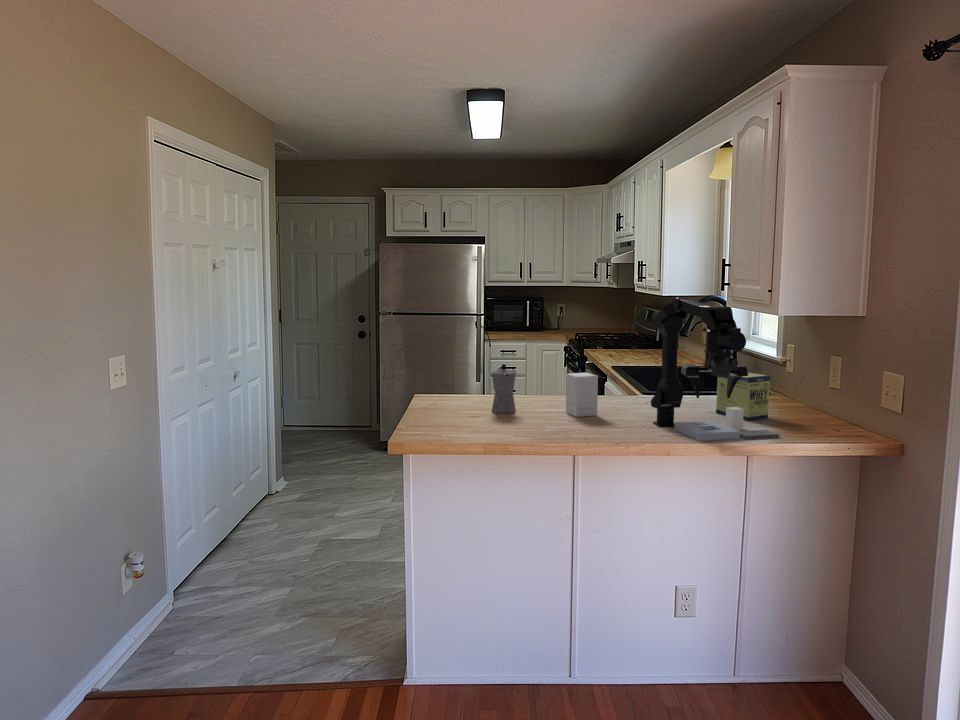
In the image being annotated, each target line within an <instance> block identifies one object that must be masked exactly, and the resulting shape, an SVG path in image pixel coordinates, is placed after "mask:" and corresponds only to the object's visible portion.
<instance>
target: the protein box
mask: <svg viewBox="0 0 960 720" xmlns="http://www.w3.org/2000/svg"><path fill="white" fill-rule="evenodd" d="M742 377H743V379H740V380H739V381H738V382H737V383H736V385H735V387H734V389H733V391H732V393H731V396H730V398H727V378H728V376H726V375H717V384H716V385H717V386H716V402H715V403H716V404H715V405H716V407H715V414H719V415H722V416H725V417H726V407H739V408H742V409H744V414H743V421H744V420H745V422H749V421H756V420H757V419H759V420H764V419H763V418H768V419H769V409H770V408H769V407H770V405H769V404H770V388H771V375H768V374H767V375H766V374H759V373H753V372H749V371H748V376H742ZM757 421H758V420H757Z"/></svg>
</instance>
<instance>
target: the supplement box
mask: <svg viewBox="0 0 960 720" xmlns="http://www.w3.org/2000/svg"><path fill="white" fill-rule="evenodd" d="M565 376H566V379H565V380H566V384H565V387H566V388H565V389H566V390H565V391H566V392H565V395H566V396H565V399H566V400H565V413H566V414H569V415H571V416H572V417H576V418H580V417H595V416H598V399H599V397H598V394H599V393H598V392H599V387H598V386H599V375H596V374H592V373H590V372H574V373H572V372H569V373H566V375H565Z"/></svg>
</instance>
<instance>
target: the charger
mask: <svg viewBox="0 0 960 720" xmlns="http://www.w3.org/2000/svg"><path fill="white" fill-rule="evenodd" d="M743 414H744V409H742V408H739V407H726V416H725V425H726V426H728V427H730V428H733V429H735V430H738V431H742V430H741V429H743V430H744V420H743Z"/></svg>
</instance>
